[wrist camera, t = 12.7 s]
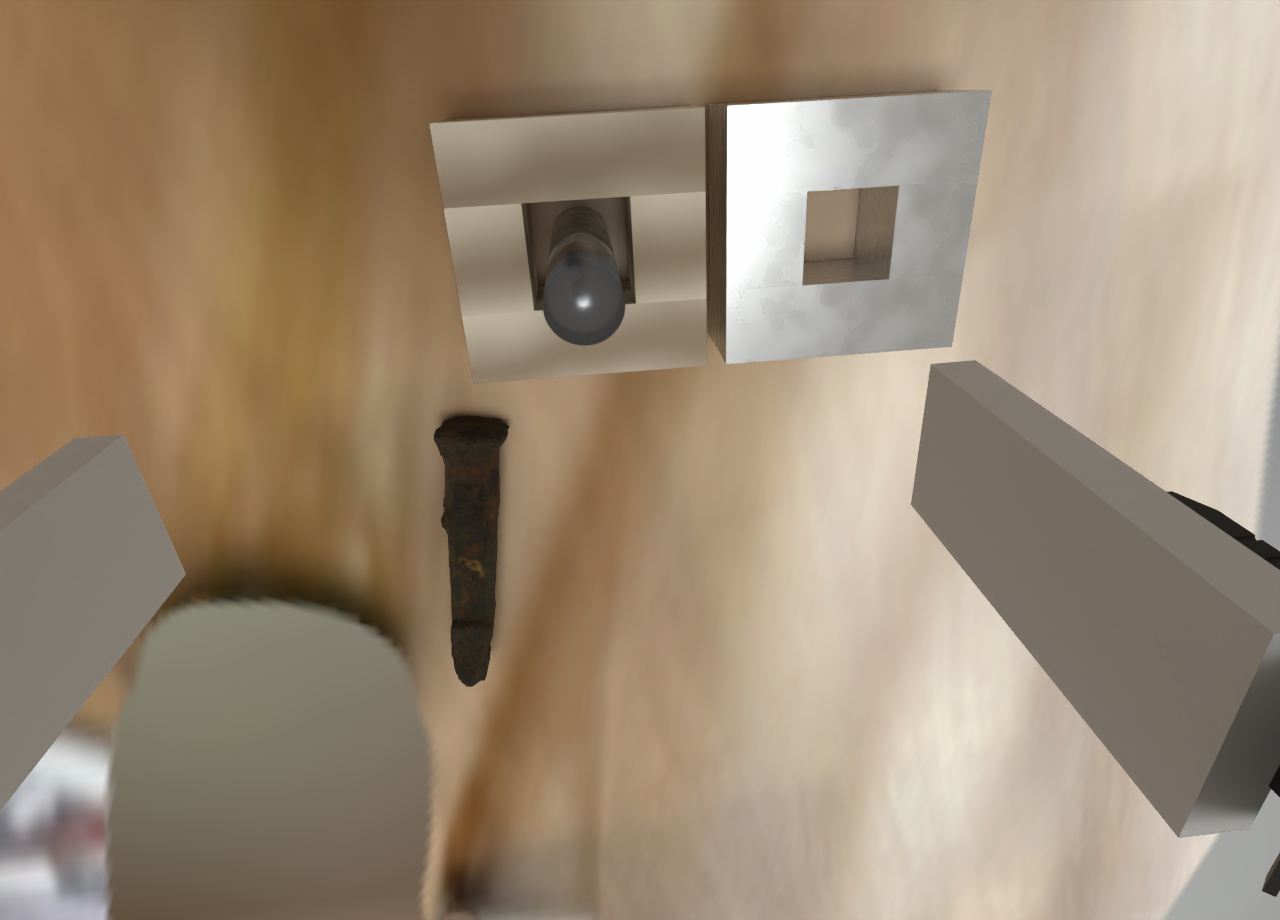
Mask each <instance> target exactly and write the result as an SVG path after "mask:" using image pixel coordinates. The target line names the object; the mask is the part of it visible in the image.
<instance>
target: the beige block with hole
mask: <svg viewBox="0 0 1280 920" xmlns="http://www.w3.org/2000/svg"><path fill="white" fill-rule="evenodd" d="M429 125H430V131H431V136H432V142H433V148H434V154H435V160H436V166H437V172H438V178H439V184H440V190H441V196H442V202H443V207H444V213H445V219H446V225H447V231H448V237H449V243H450V249H451V255H452V261H453V267H454V272H455V278H456V284H457V290H458V296H459V302H460V308H461V314H462V320H463V326H464V332H465V337H466V343H467V349H468V355H469V361H470V367H471V373H472V379H473V384H476V383H489V382H502V381H515V380H528V379H541V378H554V377H567V376H579V375H592V374H605V373H618V372H631V371H644V370H657V369H670V368H682V367H695V366H707V302H706V187H705V107H698V106H689V105H688V106H671V107H654V108H637V109H620V110H603V111H586V112H569V113H552V114H536V115H519V116H502V117H485V118H468V119H451V120H444V121H439V122H434V123H429ZM613 197H624V203H625V220H626V238H627V255H628V272H629V280H624V281H621V285H622V289H623V293H624V297H625V314H624V317H623V320H622V323H621V324H620V326H619V328H618V329H617V330H616V332H615V333H614V334H613V335H612V336H610V337H609V338H608V339H606V340H604V341H603V342H600V343H598V344H594V345H588V346H582V345H575V344H571V343H569V342H566V341H564V340H563V339H561V338H560V337H558V336H557V335H556V334H555V333H554V332H553V331H552V330H551V328H550V327H549V325H548V324H547V322H546V319H545V316H544V313H543V295H544V287H545V286H538V278H537V269H536V261H535V252H534V244H533V235H532V226H531V218H530V209H529V203H536V202H552V201H567V200H582V199H598V198H613Z"/></svg>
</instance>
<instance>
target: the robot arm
mask: <svg viewBox="0 0 1280 920" xmlns="http://www.w3.org/2000/svg"><path fill="white" fill-rule="evenodd" d="M911 505H912V506H913V508H914V509H915V510H916V511H917V513H918V514H919V515H920V516H921V518H922V519H923V520H924V521H925V522H926V524H927V525H928V526H929V527H930V529H931V530H932V531H933V532H934V534H935V535H936V536H937V537H938V539H939V540H940V541H941V542H942V544H943V545H944V546H945V547H946V549H947V550H948V551H949V552H950V554H951V555H952V556H953V557H954V559H955V560H956V561H957V562H958V564H959V565H960V566H961V567H962V569H963V570H964V571H965V572H966V574H967V575H968V576H969V577H970V579H971V580H972V581H973V582H974V584H975V585H976V586H977V587H978V588H979V590H980V591H981V592H982V593H983V595H984V596H985V597H986V598H987V600H988V601H989V602H990V603H991V605H992V606H993V607H994V608H995V610H996V611H997V612H998V613H999V615H1000V616H1001V617H1002V618H1003V620H1004V621H1005V622H1006V623H1007V625H1008V626H1009V627H1010V628H1011V630H1012V631H1013V632H1014V633H1015V635H1016V636H1017V637H1018V638H1019V640H1020V641H1021V642H1022V643H1023V645H1024V646H1025V647H1026V648H1027V650H1028V651H1029V652H1030V653H1031V654H1032V656H1033V657H1034V658H1035V659H1036V661H1037V662H1038V663H1039V664H1040V666H1041V667H1042V668H1043V669H1044V671H1045V672H1046V673H1047V674H1048V676H1049V677H1050V678H1051V679H1052V681H1053V682H1054V683H1055V684H1056V686H1057V687H1058V688H1059V689H1060V691H1061V692H1062V693H1063V694H1064V696H1065V697H1066V698H1067V699H1068V701H1069V702H1070V703H1071V704H1072V706H1073V707H1074V708H1075V709H1076V711H1077V712H1078V713H1079V714H1080V716H1081V717H1082V718H1083V719H1084V720H1085V722H1086V723H1087V724H1088V725H1089V727H1090V728H1091V729H1092V730H1093V732H1094V733H1095V734H1096V735H1097V737H1098V738H1099V739H1100V740H1101V742H1102V743H1103V744H1104V745H1105V747H1106V748H1107V749H1108V750H1109V752H1110V753H1111V754H1112V755H1113V757H1114V758H1115V759H1116V760H1117V762H1118V763H1119V764H1120V765H1121V767H1122V768H1123V769H1124V770H1125V772H1126V773H1127V774H1128V775H1129V777H1130V778H1131V779H1132V780H1133V782H1134V783H1135V784H1136V785H1137V787H1138V788H1139V789H1140V790H1141V791H1142V793H1143V794H1144V795H1145V796H1146V798H1147V799H1148V800H1149V801H1150V803H1151V804H1152V805H1153V806H1154V808H1155V809H1156V810H1157V811H1158V813H1159V814H1160V815H1161V816H1162V818H1163V819H1164V820H1165V821H1166V823H1167V824H1168V825H1169V826H1170V828H1171V829H1172V830H1173V831H1174V833H1175V834H1176V835H1177V836H1178V838H1181V837H1189V836H1198V835H1206V834H1214V833H1223V832H1231V831H1238V830H1247V829H1250V827H1251V825H1252V823H1253V821H1254V820H1255V818H1256V816H1257V814H1258V812H1259V810H1260V808H1261V806H1262V805H1263V803H1264V801H1265V799H1266V797H1267V795H1268V793H1269V791H1270V790H1271V789H1272V790H1273V791H1274V792H1275V793H1276V794H1277V795H1278V796H1279V797H1280V552H1279V551H1278V550H1277V549H1275V548H1274V547H1272V546H1271V545H1269V544H1268V543H1266V542H1265V541H1263V540H1258V541H1257V540H1256V539H1255V535H1254V534H1253V533H1251V532H1250V531H1248V530H1247V529H1245V528H1244V527H1242V526H1241V525H1239V524H1238V523H1236V522H1235V521H1233V520H1232V519H1230V518H1229V517H1227V516H1225V515H1224V514H1222V513H1221V512H1219V511H1218V510H1215V509H1213V508H1211V507H1208V506H1206V505H1203V504H1201V503H1199V502H1196V501H1194V500H1191V499H1189V498H1187V497H1184V496H1182V495H1179V494H1177V493H1174V492H1172V491H1171V492H1166V491H1164V490H1163V489H1161V488H1160V487H1158V486H1157V485H1155V484H1154V483H1153V482H1151V481H1150V480H1148V479H1147V478H1145V477H1144V476H1142V475H1141V474H1140V473H1138V472H1137V471H1135V470H1134V469H1132V468H1131V467H1129V466H1128V465H1126V464H1125V463H1124V462H1122V461H1121V460H1119V459H1118V458H1116V457H1115V456H1113V455H1112V454H1111V453H1109V452H1108V451H1106V450H1105V449H1103V448H1102V447H1100V446H1099V445H1097V444H1096V443H1095V442H1093V441H1092V440H1090V439H1089V438H1087V437H1086V436H1084V435H1083V434H1082V433H1080V432H1079V431H1077V430H1076V429H1074V428H1073V427H1071V426H1070V425H1068V424H1067V423H1066V422H1064V421H1063V420H1061V419H1060V418H1058V417H1057V416H1055V415H1054V414H1052V413H1051V412H1050V411H1048V410H1047V409H1045V408H1044V407H1042V406H1041V405H1039V404H1038V403H1037V402H1035V401H1034V400H1032V399H1031V398H1029V397H1028V396H1026V395H1025V394H1023V393H1022V392H1021V391H1019V390H1018V389H1016V388H1015V387H1013V386H1012V385H1010V384H1009V383H1008V382H1006V381H1005V380H1003V379H1002V378H1000V377H999V376H997V375H996V374H994V373H993V372H992V371H990V370H989V369H987V368H986V367H984V366H983V365H981V364H980V363H979V362H977V361H976V360H974V361H962V362H951V363H939V364H931V367H930V374H929V381H928V388H927V395H926V402H925V409H924V417H923V424H922V431H921V438H920V445H919V452H918V459H917V466H916V473H915V481H914V488H913V495H912V502H911ZM185 575H186V574H185V571H184V569H183V567H182V565H181V562H180V560H179V558H178V556H177V553H176V551H175V549H174V546H173V544H172V542H171V540H170V537H169V535H168V533H167V531H166V528H165V526H164V524H163V522H162V519H161V517H160V515H159V513H158V510H157V508H156V506H155V504H154V501H153V499H152V497H151V495H150V492H149V490H148V488H147V486H146V483H145V481H144V479H143V477H142V474H141V472H140V470H139V468H138V465H137V463H136V461H135V459H134V456H133V454H132V452H131V449H130V447H129V445H128V443H127V440H126V438H125V436H124V434H121V435H110V436H98V437H87V438H75V439H73V440H71V441H70V442H69V443H67V444H66V445H64V446H63V447H62V448H60V449H59V450H57V451H56V452H55V453H53V454H52V455H50V456H49V457H48V458H46V459H45V460H43V461H42V462H41V463H39V464H38V465H36V466H35V467H34V468H32V469H31V470H29V471H28V472H27V473H25V474H24V475H22V476H21V477H20V478H18V479H17V480H15V481H14V482H13V483H11V484H10V485H8V486H7V487H6V488H4V489H3V490H1V491H0V810H1V809H2V808H3V806H4V805H5V804H6V803H7V801H8V800H9V799H10V798H11V796H12V795H13V794H14V792H15V791H16V790H17V789H18V787H19V786H20V785H21V784H22V782H23V781H24V780H25V778H26V777H27V776H28V775H29V773H30V772H31V771H32V770H33V768H34V767H35V766H36V764H37V763H38V762H39V761H40V759H41V758H42V757H43V756H44V754H45V753H46V752H47V750H48V749H49V748H50V747H51V745H52V744H53V743H54V742H55V740H56V739H57V738H58V736H59V735H60V734H61V733H62V731H63V730H64V729H65V728H66V726H67V725H68V724H69V722H70V721H71V720H72V719H73V717H74V716H75V715H76V713H77V712H78V711H79V710H80V708H81V707H82V706H83V705H84V703H85V702H86V701H87V699H88V698H89V697H90V696H91V694H92V693H93V692H94V691H95V689H96V688H97V687H98V685H99V684H100V683H101V682H102V680H103V679H104V678H105V677H106V675H107V674H108V673H109V671H110V670H111V669H112V668H113V666H114V665H115V664H116V663H117V661H118V660H119V659H120V657H121V656H122V655H123V654H124V652H125V651H126V650H127V649H128V647H129V646H130V645H131V643H132V642H133V641H134V640H135V638H136V637H137V636H138V634H139V633H140V632H141V631H142V629H143V628H144V627H145V626H146V624H147V623H148V622H149V620H150V619H151V618H152V617H153V615H154V614H155V613H156V612H157V610H158V609H159V608H160V606H161V605H162V604H163V603H164V601H165V600H166V599H167V598H168V596H169V595H170V594H171V592H172V591H173V590H174V589H175V587H176V586H177V585H178V584H179V582H180V581H181V580H182V578H183V577H184V576H185ZM1262 891H1263V892H1266V893H1268V894H1270V895H1272V896H1275V897H1276V896H1277V894H1278V892H1279V891H1280V853H1279V855H1278V857H1277V858H1276V860H1275V862H1274V864H1273V865H1272V867H1271V869H1270V871H1269V872H1268V874H1267V876H1266V879H1265V883H1264V886H1263V889H1262Z"/></svg>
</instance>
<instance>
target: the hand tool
mask: <svg viewBox="0 0 1280 920" xmlns="http://www.w3.org/2000/svg"><path fill="white" fill-rule="evenodd" d="M508 428H509V426H508V425H507V424H506V423H503V422H502V421H501V420H500V419H495V418H493V419H490V418H483V417H478V416H463V417H455V418H451V419H448V420H445V421H444V422H443V423H442V425H441V426H440V427H439V428H438V429H436V431H435V433H434V440H435V443H436V444H437V446H438V449H439V451H440V455H441V456H442V457H443V461H444V464H445V498H444V504H443V507H444V513H443V516H442V518H441V523H442V527H443V528H444V529H445V530H446V531H447V534H448V545H449V568H450V582H451V610H452V626H451V643H452V656H453V659H454V667H455V671H456V674H457V675H458V679H460V680H461V682H462V683H463V684H465V685H466V686H470V687H471V686H474V685H475V684H477V683H478V682H479V681H481V680H485V678H486V675H487V670H488V665H489V661H490V650H491V647H490V642H491V639H492V635H493V626H494V615H495V605H496V603H495V580H496V559H497V518H498V514H499V512H498V509H499V502H500V491H499V448H500V446H501V445H502V444H503V443H504V441H505V440H506V438H507V434H508Z"/></svg>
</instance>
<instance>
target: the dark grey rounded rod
mask: <svg viewBox="0 0 1280 920" xmlns="http://www.w3.org/2000/svg"><path fill="white" fill-rule="evenodd" d="M543 313H544V316H545V319H546V322H547V324H548V325H549V327H550V328H551V330H552V331H553V332H554V333H555V334H556V335H557V336H558V337H560V338H561V339H563V340H564V341H566V342H569V343H571V344H575V345H582V346H588V345H594V344H598V343H600V342H603V341H604V340H606V339H608V338H609V337H610V336H612V335H613V334H614V333H615V332H616V330H617V329H618V328H619V326H620V324H621V323H622V320H623V317H624V314H625V297H624V293H623V289H622V285H621V281H620V277H619V274H618V270H617V266H616V262H615V258H614V254H613V250H612V246H611V242H610V238H609V235H608V231H607V227H606V225H605V223H604V221H603V220H602V218H601V217H600V216H599V215H598V214H597V213H595V212H594V211H592V210H590V209H587V208H572V209H569V210H567V211H565V212H564V213H563V214H561V215H560V216H559V217H558V219H557V220H556V222H555V224H554V227H553V231H552V238H551V245H550V252H549V259H548V266H547V273H546V280H545V287H544V295H543Z"/></svg>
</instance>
